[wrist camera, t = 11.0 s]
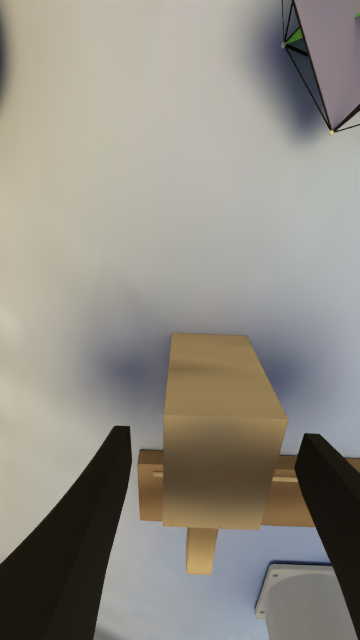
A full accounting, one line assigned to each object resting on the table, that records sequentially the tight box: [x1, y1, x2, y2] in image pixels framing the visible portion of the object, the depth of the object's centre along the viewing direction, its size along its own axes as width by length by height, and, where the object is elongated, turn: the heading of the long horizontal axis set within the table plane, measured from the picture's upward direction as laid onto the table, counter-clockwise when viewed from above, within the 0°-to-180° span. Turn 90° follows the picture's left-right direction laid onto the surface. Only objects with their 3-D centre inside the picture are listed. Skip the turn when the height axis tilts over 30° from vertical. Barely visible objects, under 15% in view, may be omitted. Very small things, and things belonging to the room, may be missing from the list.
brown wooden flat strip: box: [137, 450, 360, 527], centre depth 18 cm, size 6×28×1 cm, turn 88°
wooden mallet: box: [163, 333, 288, 575], centre depth 13 cm, size 13×4×6 cm, turn 178°
